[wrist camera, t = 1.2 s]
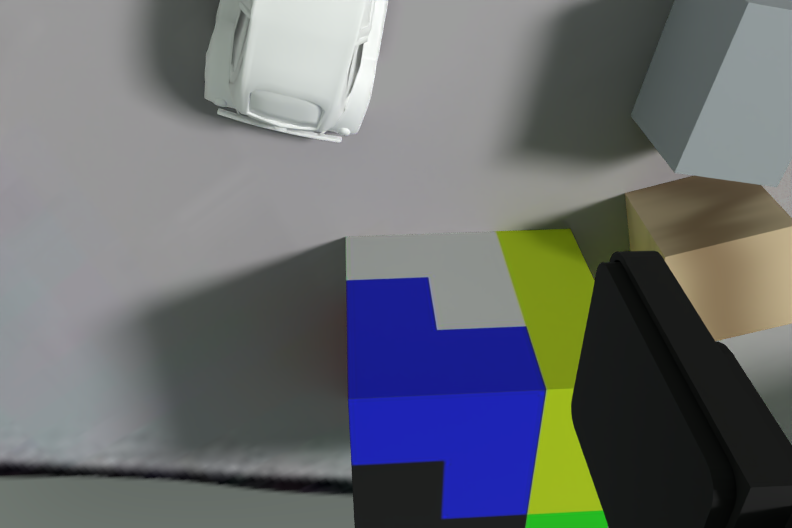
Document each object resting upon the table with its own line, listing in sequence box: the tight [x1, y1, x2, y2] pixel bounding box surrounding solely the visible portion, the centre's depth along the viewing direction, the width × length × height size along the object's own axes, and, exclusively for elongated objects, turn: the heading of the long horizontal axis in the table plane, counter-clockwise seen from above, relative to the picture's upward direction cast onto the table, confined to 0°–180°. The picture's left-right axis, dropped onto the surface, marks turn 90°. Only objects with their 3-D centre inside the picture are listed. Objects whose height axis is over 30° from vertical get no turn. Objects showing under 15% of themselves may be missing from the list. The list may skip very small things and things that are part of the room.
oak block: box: [625, 176, 792, 341], centre depth 32 cm, size 5×5×5 cm
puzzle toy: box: [346, 229, 608, 528], centre depth 32 cm, size 10×10×10 cm
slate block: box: [631, 0, 792, 187], centre depth 28 cm, size 4×6×5 cm, turn 170°
